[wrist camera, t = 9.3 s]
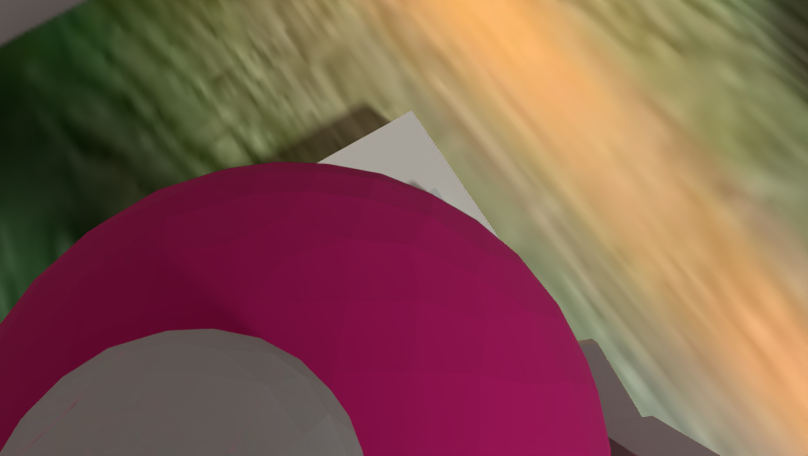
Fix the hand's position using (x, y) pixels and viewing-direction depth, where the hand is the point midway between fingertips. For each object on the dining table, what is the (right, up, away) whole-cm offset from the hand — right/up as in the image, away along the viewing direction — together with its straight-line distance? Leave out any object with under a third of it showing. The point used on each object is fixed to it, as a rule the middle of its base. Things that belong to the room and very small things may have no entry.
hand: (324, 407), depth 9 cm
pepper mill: (0, -4, +12) cm, 13 cm away
